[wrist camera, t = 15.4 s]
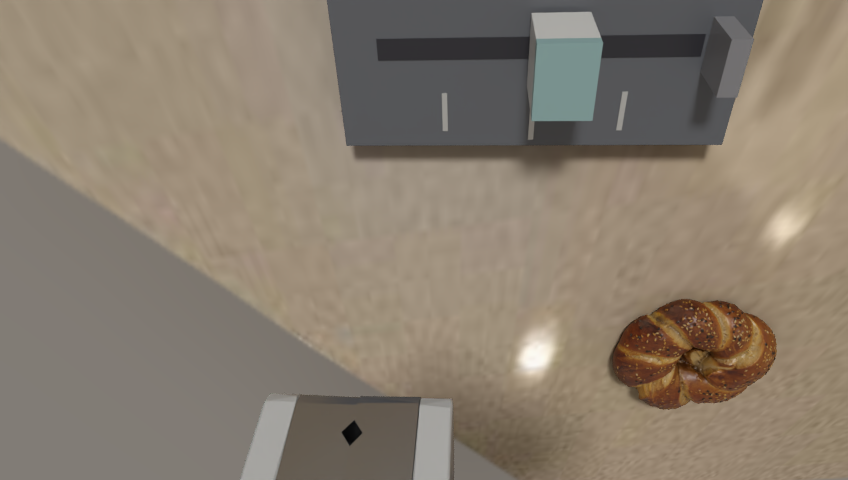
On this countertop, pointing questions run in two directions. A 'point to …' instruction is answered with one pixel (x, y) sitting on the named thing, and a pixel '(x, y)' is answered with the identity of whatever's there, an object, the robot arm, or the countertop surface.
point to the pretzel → (693, 353)
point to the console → (508, 69)
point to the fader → (563, 66)
